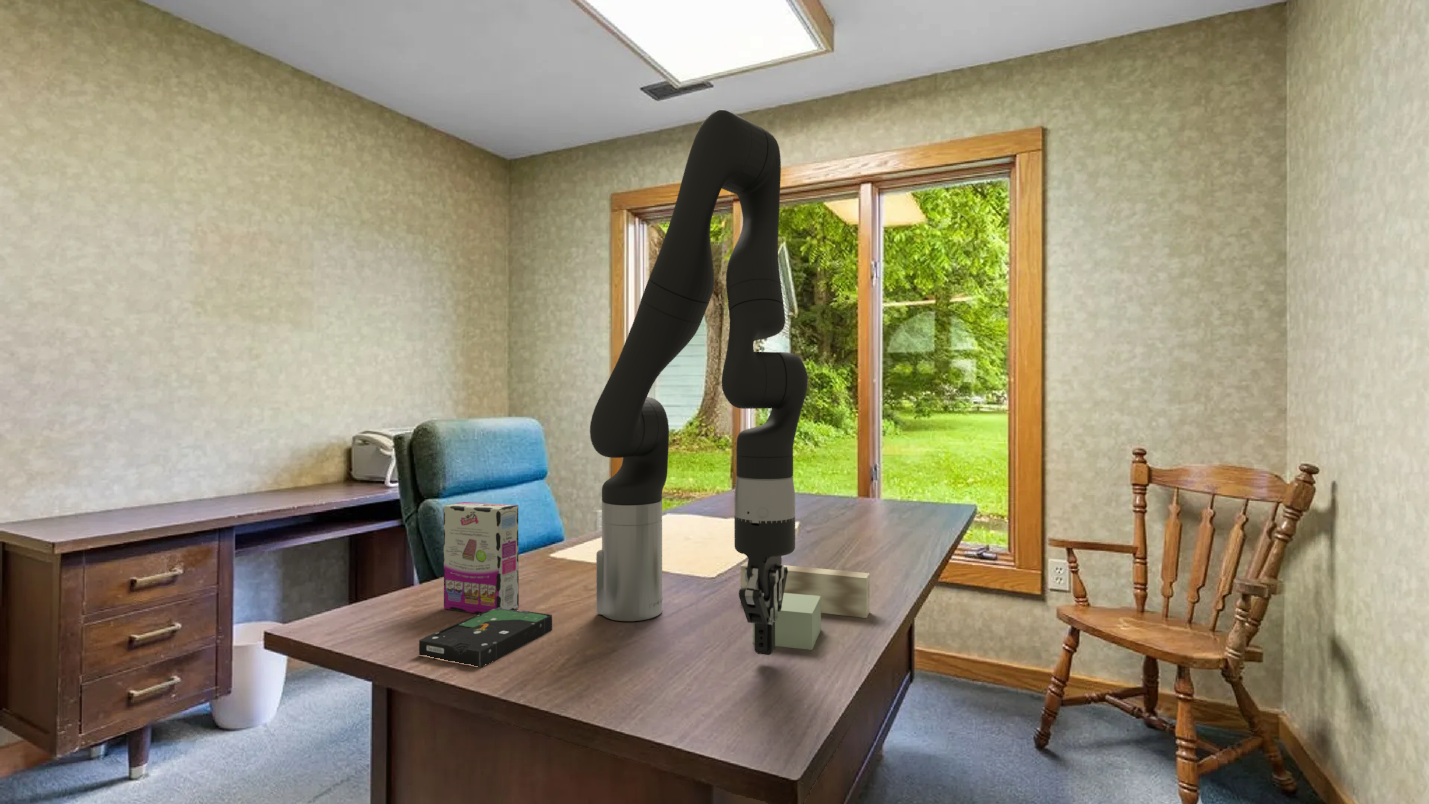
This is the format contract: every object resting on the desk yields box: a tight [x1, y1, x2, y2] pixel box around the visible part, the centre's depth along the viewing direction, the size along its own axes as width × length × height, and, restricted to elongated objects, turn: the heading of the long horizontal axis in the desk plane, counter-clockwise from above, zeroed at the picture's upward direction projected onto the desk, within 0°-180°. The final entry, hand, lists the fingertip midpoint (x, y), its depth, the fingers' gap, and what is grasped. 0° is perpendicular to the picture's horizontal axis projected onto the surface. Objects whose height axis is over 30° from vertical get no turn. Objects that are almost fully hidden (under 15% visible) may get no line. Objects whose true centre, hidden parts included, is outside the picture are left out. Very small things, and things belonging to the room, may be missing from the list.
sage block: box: [752, 593, 822, 651], centre depth 92 cm, size 8×8×5 cm
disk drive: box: [418, 607, 553, 668], centre depth 90 cm, size 10×3×15 cm
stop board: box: [740, 561, 871, 619], centre depth 105 cm, size 20×3×6 cm, turn 68°
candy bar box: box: [442, 501, 520, 615], centre depth 104 cm, size 11×5×16 cm, turn 68°
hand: (764, 652), depth 82 cm, fingers closed
